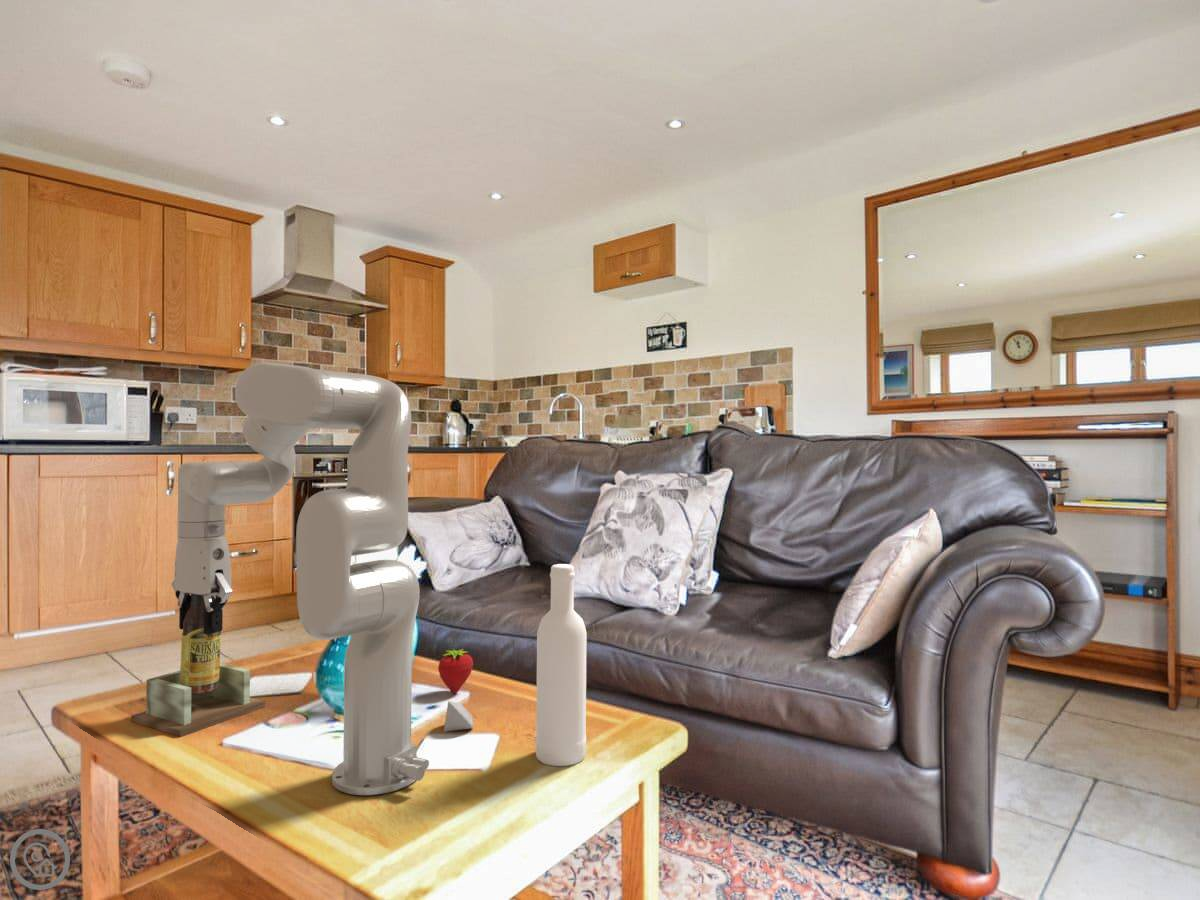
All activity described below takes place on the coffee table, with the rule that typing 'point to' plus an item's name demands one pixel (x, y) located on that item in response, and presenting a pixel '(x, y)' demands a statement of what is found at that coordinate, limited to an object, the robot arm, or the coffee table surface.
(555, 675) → the bottle
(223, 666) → the rest
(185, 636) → the sauce bottle
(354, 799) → the coffee table surface
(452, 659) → the strawberry
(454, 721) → the grey pyramid
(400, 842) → the coffee table surface
